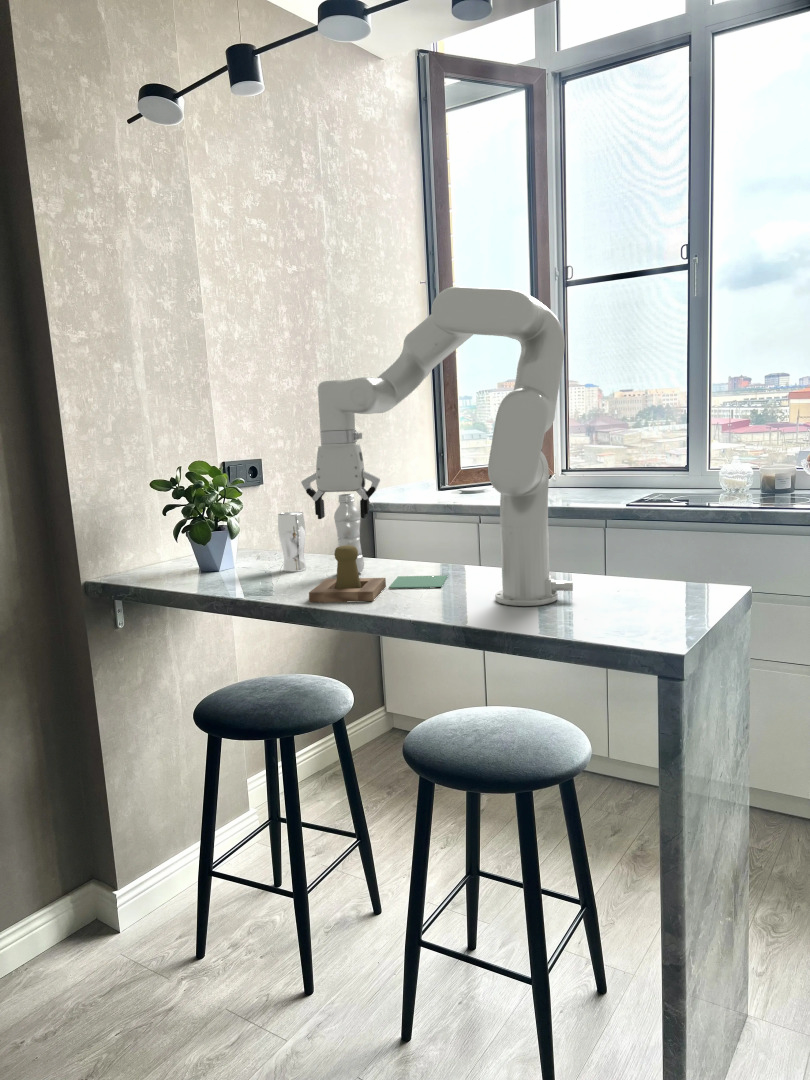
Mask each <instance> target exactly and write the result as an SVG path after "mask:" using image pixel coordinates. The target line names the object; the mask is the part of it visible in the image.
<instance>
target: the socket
mask: <svg viewBox="0 0 810 1080" xmlns="http://www.w3.org/2000/svg"><path fill="white" fill-rule="evenodd" d="M359 578H360V583H361V588H356V589H336V579H337V578H325V579H323V580H322V582H320V583H319V584H318V585H317V586H315V587H314V588H313V589H311V590H310V591H309V592H308V599H309V600H308V601H309V603H310V602H317V603H348V602H347V601H374V602H375V600H376V599H377V598H378V597H379V596H380V595H381V594H382V592H383V591H384V590H385V589H386V588H387V584H386V583H387V581H386V580H387V579H386V577H359ZM385 587H386V588H385ZM384 588H385V589H384ZM383 589H384V590H383ZM382 590H383V591H382ZM381 591H382V592H381ZM380 593H381V594H380ZM379 594H380V595H379ZM378 595H379V596H378ZM377 596H378V597H377ZM376 597H377V598H376ZM375 598H376V599H375ZM374 599H375V600H374Z"/></svg>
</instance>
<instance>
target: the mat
mask: <svg viewBox="0 0 810 1080" xmlns="http://www.w3.org/2000/svg"><path fill="white" fill-rule="evenodd" d="M432 576H434V577H432ZM447 576H448V575H447V574H446V575H412V576H411V575H403V576H402V575H401V576H399V575H398V576H397V577H396V578H395V579H394V580H393V582H392V583H391V584H390V585H389V586H388V589H389V588H423V589H431V588H430V587H442V588H443V586H444V584H445V583H446V581H447V579H448V577H447ZM446 578H447V579H446ZM445 580H446V581H445ZM444 582H445V583H444ZM442 585H443V586H442Z"/></svg>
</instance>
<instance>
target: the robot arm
mask: <svg viewBox="0 0 810 1080" xmlns="http://www.w3.org/2000/svg"><path fill="white" fill-rule="evenodd" d="M430 311H431V314H429V315H428V316H427V317H426V318H425V319H424V320H422V321H421V322H420V323H418V325H417V326H416V327H414V328H413V329H412V330H411V331H410V332H409V333H408V334H406V336H404V337H405V338H404V340H403V346H402V347H403V348H402V350H401V354H400V355H399V356H398V358H397V359H396V360H395V361H394V362H393V363H392V364H391V365H390V366H388V368H387V369H386V370H384V372H382V373H381V374H379V376H377V377H368V376H366V377H361V376H360V377H357V378H351V379H347V380H345V379H344V380H343V379H336V380H324V381H321V382H320V383H319V384H318V386H317V397H318V398H317V399H318V413H319V414H318V415H319V416H318V417H319V431H320V433H319V434H320V445H319V446H318V447H317V455H316V463H315V464H316V468H315V470H316V471H315V472H314V473H313V474H311V475H310V476H308V477H306V478H305V479H303V480H302V481H301V485H302V487H303V489H304V490H305V493H306V494H307V495H308V496H309V497H311V499H312V500H313V501H314V510H315V511H314V514H315V516H317V519H318V520H322V519H324V518H325V516H326V514H325V500H324V499H323V496H324V495H325V494H326V493H339V492H341V493H345V492H346V493H347V492H348V493H349V492H356V493H357V494H358V495H359V496H360V497H361V499H360V501H359V503H360V504H359V505H360V507H359V508H360V519H366V518H367V517H368V515H369V514H370V498H371V496H373V494H374V493H375V492H376V491H377V489H378V487H379V484H380V482H381V478H380V477H379V476H378V477H377V476H376V475H373V474H371V473H370V472H368V471H365V464H364V458H363V453H362V447H361V445H360V444H357V443H358V442H357V441H358V440H362V439H363V433H362V432H359V431H357V429H356V422H355V421H356V420H355V417H356V416H355V414H357V415H358V414H360V415H372V414H383V413H386V412H389V411H391V410H393V408H395V407H396V406H397V405H399V404H400V403H401V402H402V401H404V400H405V399H406V398H407V397H409V395H411V394H412V393H413V392H414V391H415V390H417V388H418V387H419V386H420V385H421V384H422V383H423V381H424V380H425V379H426V378H427V377H428V376H429V375H430V373H431V372H432V370H433V369H434V368H436V367H437V366H438V365H439V364H440V363H441V362H443V361H444V360H445V359H446V358H447V357H448V356H450V355H451V354H452V353H453V352H455V350H456V349H458V348H459V347H460V346H462V345H464V343H465V342H467V341H468V340H469V339H470V338H471V337H472V336H475V335H477V336H495V337H506V338H509V339H512V340H516V341H518V342H519V344H520V350H521V351H520V356H519V360H518V363H517V368H516V377H515V381H514V386H513V390H512V391H510V392H509V393H508V394H506V395H505V396H504V398H502V400H501V402H500V404H499V406H498V409H497V412H496V417H495V421H494V427H493V432H492V433H493V434H492V438H491V439H492V440H491V446H490V451H489V455H488V456H489V457H488V463H487V464H488V465H487V473H488V474H487V475H488V479H489V482H490V483H491V486H492V487H493V488H494V489H495V491H497V493H500V500H499V503H500V504H499V519H500V520H499V522H500V524H499V526H500V554H501V555H500V556H501V577H502V579H501V580H502V581H501V582H502V590H500V591H497V592H496V593H495V595H494V596H495V598H494V600H495V601H496V602H497V603H499V604H502V605H508V606H515V607H516V606H517V607H533V606H534V607H535V606H542V605H548V604H552V603H554V602H556V601H557V600H558V599H559V596H558V591H559V592H561V591H563V592H573V590H574V588H573V587H574V586H573V585H574V584H573V581H567V580H555V579H552V575H551V574H550V551H549V550H550V549H549V548H550V547H549V544H550V543H549V484H550V483H549V482H550V481H549V479H550V472H549V471H550V469H549V463H548V459H547V458H546V455H545V454H544V452H543V451H542V450H543V449H542V448H543V444H544V438H545V434H546V433H547V432H548V431H549V430H550V429H551V428H552V426H553V424H554V421H555V417H556V408H557V402H558V396H559V389H560V383H561V375H562V368H563V364H564V363H563V362H564V359H565V358H564V355H565V348H566V347H565V333H564V330H563V327H562V325H561V322H560V320H559V319H558V317H557V315H556V314H555V313H554V312H553V311H551V309H549V308H548V307H547V306H546V305H545V304H543V303H542V302H541V301H539V300H538V299H537V298H535V297H533V296H532V295H530V294H528V293H526V292H524V291H521V290H520V289H519V290H518V289H514V288H512V289H511V288H499V287H498V288H495V287H494V288H492V287H491V288H490V287H488V288H487V287H469V286H451V287H447V288H445V289H443V290H442V291H440V292H439V293H438V294H437V295H436V296H435V298H434V300H433V302H432V305H431V310H430ZM366 480H368V481H370V482H371V485H370V487H369V488H368V489H366V488H365V487H366ZM314 481H316V482H315V483H316V488H317V490H315V489H314V488H312V486H311V483H312V482H314Z"/></svg>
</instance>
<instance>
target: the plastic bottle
mask: <svg viewBox="0 0 810 1080" xmlns="http://www.w3.org/2000/svg"><path fill="white" fill-rule="evenodd" d="M354 496H355V495H354V493H344V494H339V495H338V504H339V505H338V506H337V508H336V510H335V512H334V514H333V520H334V525H335V529H336V535H337V542H338V546H337V547H339V546H344V545H351V546H355V547H356V548H357V550H358V557H357V559H356V563H357V568H358V573H362V572H363V570H364V569H365V560H364V556H363V554H362V552H363V551H362V545H361V537H360V536H361V534H360V533H361V512H360V511H359V509H358V508H357V507H356V505H355V504H354V502H355V497H354Z"/></svg>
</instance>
